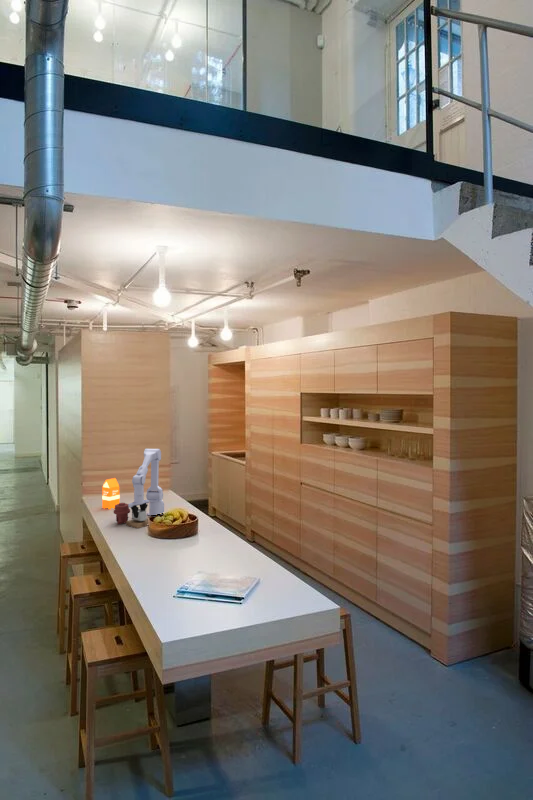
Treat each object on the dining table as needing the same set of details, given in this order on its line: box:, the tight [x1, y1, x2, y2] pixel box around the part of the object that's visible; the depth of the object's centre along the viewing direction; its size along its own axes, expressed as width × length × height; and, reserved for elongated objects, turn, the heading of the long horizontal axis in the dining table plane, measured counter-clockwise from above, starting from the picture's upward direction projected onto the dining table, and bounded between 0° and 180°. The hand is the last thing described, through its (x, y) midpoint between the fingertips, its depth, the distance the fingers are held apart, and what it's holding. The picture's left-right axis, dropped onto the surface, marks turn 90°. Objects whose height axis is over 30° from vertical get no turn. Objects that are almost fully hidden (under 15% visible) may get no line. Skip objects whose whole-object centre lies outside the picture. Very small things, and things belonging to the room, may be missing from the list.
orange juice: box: [101, 477, 121, 510], centre depth 364 cm, size 8×9×20 cm
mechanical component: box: [113, 502, 131, 525], centre depth 324 cm, size 12×10×10 cm
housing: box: [131, 508, 147, 521], centre depth 320 cm, size 8×4×6 cm, turn 52°
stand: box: [125, 518, 149, 529], centre depth 320 cm, size 11×11×2 cm
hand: (139, 516), depth 320 cm, fingers closed on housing, 4 cm apart
